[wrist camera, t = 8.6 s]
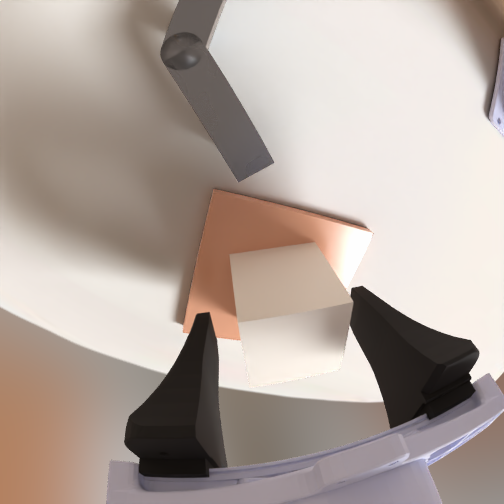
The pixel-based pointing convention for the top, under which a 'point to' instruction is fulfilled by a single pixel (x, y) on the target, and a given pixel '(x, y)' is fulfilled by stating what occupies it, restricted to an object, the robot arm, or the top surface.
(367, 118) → the top surface
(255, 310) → the cream block
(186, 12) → the bent rail
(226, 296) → the terracotta tile
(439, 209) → the top surface
